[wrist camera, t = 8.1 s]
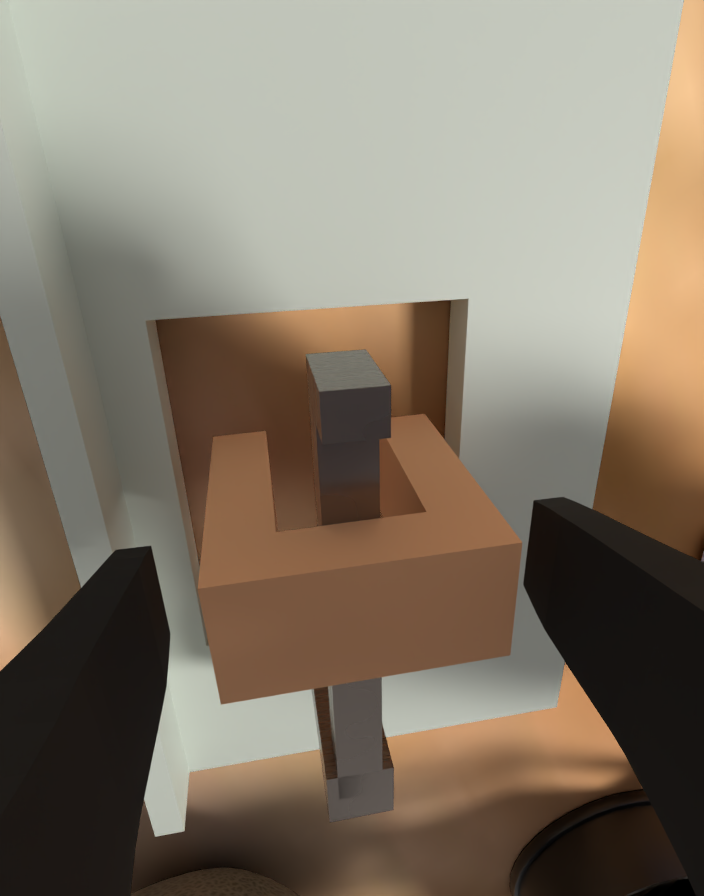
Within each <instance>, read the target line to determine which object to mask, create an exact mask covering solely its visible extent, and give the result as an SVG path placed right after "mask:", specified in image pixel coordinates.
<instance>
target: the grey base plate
mask: <svg viewBox="0 0 704 896" xmlns="http://www.w3.org/2000/svg"><path fill="white" fill-rule="evenodd" d="M683 2H684V0H0V317H1V320H2V323H3V327H4V330H5V333H6V337H7V340H8V343H9V347H10V350H11V354H12V357H13V360H14V364H15V367H16V370H17V374H18V377H19V380H20V384H21V387H22V391H23V394H24V397H25V401H26V404H27V407H28V411H29V414H30V417H31V421H32V424H33V428H34V431H35V434H36V438H37V441H38V444H39V448H40V451H41V454H42V458H43V461H44V465H45V468H46V471H47V475H48V478H49V481H50V485H51V488H52V491H53V495H54V498H55V501H56V505H57V508H58V512H59V515H60V518H61V522H62V525H63V528H64V532H65V535H66V538H67V542H68V545H69V549H70V552H71V555H72V559H73V562H74V565H75V569H76V572H77V575H78V579H79V582H80V586H81V588H82V586H83V585H84V584H85V583H86V582H87V581H88V580H89V579H90V577H91V576H92V575H93V574H94V573H95V572H96V571H97V570H98V568H99V567H100V566H101V565H102V564H103V563H104V562H105V561H106V560H107V559H108V557H109V556H110V555H111V554H112V553H113V552H114V551H115V550H118V549H127V548H135V547H143V546H151V547H152V552H153V556H154V561H155V565H156V570H157V574H158V579H159V583H160V588H161V592H162V597H163V602H164V606H165V611H166V615H167V620H168V624H169V629H170V633H171V635H170V650H169V664H168V676H167V687H166V692H165V698H164V703H163V708H162V713H161V718H160V723H159V728H158V733H157V738H156V743H155V748H154V752H153V757H152V762H151V767H150V772H149V777H148V782H147V787H146V791H145V796H144V801H145V804H146V808H147V811H148V814H149V818H150V821H151V824H152V828H153V831H154V834H155V837H157V836H162V835H168V834H173V833H178V832H183V831H185V819H186V807H187V795H188V784H189V772H194V771H199V770H205V769H211V768H216V767H222V766H227V765H233V764H239V763H244V762H250V761H256V760H261V759H267V758H273V757H278V756H284V755H290V754H295V753H301V752H307V751H312V750H318V749H320V748H319V741H318V734H317V726H316V719H315V712H314V704H313V697H312V690H311V689H310V690H304V691H298V692H292V693H286V694H281V695H275V696H269V697H263V698H257V699H251V700H245V701H240V702H234V703H228V704H222V705H221V703H220V698H219V693H218V688H217V683H216V678H215V673H214V668H213V663H212V658H211V653H210V648H209V643H208V638H207V633H206V628H205V623H204V618H203V613H202V608H201V603H200V598H199V594H198V580H199V570H200V566H199V561H198V555H197V550H196V544H195V539H194V533H193V527H192V522H191V516H190V511H189V505H188V500H187V494H186V489H185V483H184V477H183V472H182V466H181V461H180V455H179V450H178V444H177V439H176V433H175V427H174V422H173V416H172V411H171V405H170V400H169V394H168V389H167V383H166V377H165V372H164V366H163V361H162V355H161V350H160V344H159V339H158V333H157V327H156V322H155V320H161V319H175V318H190V317H205V316H220V315H234V314H249V313H264V312H279V311H293V310H308V309H323V308H338V307H352V306H367V305H382V304H397V303H411V302H426V301H441V300H451V307H450V329H449V351H448V373H447V396H446V418H445V441H446V442H447V444H448V445H449V446H450V448H451V449H452V450H453V452H454V453H455V454H456V456H457V457H458V458H459V459H460V461H461V462H462V463H463V465H464V466H465V467H466V469H467V470H468V471H469V473H470V474H471V475H472V477H473V478H474V479H475V481H476V482H477V483H478V484H479V486H480V487H481V488H482V490H483V491H484V492H485V494H486V495H487V496H488V498H489V499H490V500H491V502H492V503H493V504H494V506H495V507H496V508H497V510H498V511H499V512H500V513H501V515H502V516H503V517H504V519H505V520H506V521H507V523H508V524H509V525H510V527H511V528H512V529H513V531H514V532H515V533H516V535H517V536H518V537H519V539H520V540H521V541H522V551H521V561H520V570H519V579H518V589H517V598H516V607H515V616H514V626H513V635H512V644H511V654H510V655H509V656H503V657H497V658H491V659H486V660H480V661H474V662H468V663H462V664H456V665H450V666H445V667H439V668H433V669H427V670H421V671H415V672H409V673H404V674H398V675H392V676H386V677H382V724H383V728H384V732H385V736H386V737H391V736H397V735H403V734H408V733H414V732H419V731H425V730H431V729H436V728H442V727H448V726H453V725H459V724H465V723H470V722H476V721H482V720H487V719H493V718H498V717H504V716H510V715H515V714H521V713H527V712H532V711H538V710H544V709H549V708H555V707H557V703H558V697H559V691H560V686H561V680H562V675H563V669H564V664H565V661H564V659H563V658H562V656H561V655H560V653H559V652H558V650H557V648H556V647H555V645H554V644H553V642H552V641H551V639H550V638H549V636H548V634H547V633H546V631H545V630H544V628H543V626H542V624H541V622H540V620H539V618H538V616H537V614H536V612H535V610H534V607H533V605H532V603H531V601H530V599H529V596H528V594H527V592H526V590H525V588H524V585H523V581H524V573H525V565H526V557H527V549H528V541H529V533H530V525H531V517H532V509H533V501H534V500H540V499H548V498H557V497H565V498H568V499H570V500H573V501H575V502H577V503H580V504H582V505H584V506H586V507H589V508H591V509H592V508H593V502H594V497H595V491H596V486H597V480H598V475H599V469H600V464H601V458H602V452H603V447H604V441H605V436H606V430H607V425H608V419H609V414H610V408H611V402H612V397H613V391H614V386H615V380H616V375H617V369H618V363H619V358H620V352H621V347H622V341H623V336H624V330H625V325H626V319H627V313H628V308H629V302H630V297H631V291H632V286H633V280H634V275H635V269H636V263H637V258H638V252H639V247H640V241H641V236H642V230H643V224H644V219H645V213H646V208H647V202H648V197H649V191H650V186H651V180H652V174H653V169H654V163H655V158H656V152H657V147H658V141H659V136H660V130H661V124H662V119H663V113H664V108H665V102H666V97H667V91H668V85H669V80H670V74H671V69H672V63H673V58H674V52H675V47H676V41H677V35H678V30H679V24H680V19H681V13H682V8H683Z"/></svg>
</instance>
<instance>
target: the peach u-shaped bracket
mask: <svg viewBox="0 0 704 896" xmlns="http://www.w3.org/2000/svg"><path fill="white" fill-rule="evenodd" d="M379 451H380V511H381V514H382V516H383V518H377V519H370V520H362V521H355V522H347V523H340V524H332V525H324V526H317V527H309V528H302V529H294V530H286V531H279V532H278V531H277V521H276V512H275V504H274V495H273V487H272V478H271V470H270V461H269V453H268V444H267V436H266V431H260V432H251V433H241V434H232V435H223V436H214V437H213V443H212V453H211V462H210V472H209V482H208V492H207V501H206V511H205V521H204V531H203V540H202V550H201V560H200V570H199V580H198V594H199V598H200V603H201V608H202V613H203V618H204V623H205V628H206V633H207V638H208V643H209V648H210V653H211V658H212V663H213V668H214V673H215V678H216V683H217V688H218V693H219V698H220V703H221V705H222V704H228V703H234V702H240V701H245V700H251V699H257V698H263V697H269V696H275V695H281V694H286V693H292V692H298V691H304V690H310V689H316V688H322V687H327V686H333V685H339V684H345V683H351V682H357V681H363V680H368V679H374V678H380V677H386V676H392V675H398V674H404V673H409V672H415V671H421V670H427V669H433V668H439V667H445V666H450V665H456V664H462V663H468V662H474V661H480V660H486V659H491V658H497V657H503V656H509V655H510V654H511V644H512V635H513V626H514V616H515V607H516V598H517V589H518V579H519V570H520V561H521V551H522V541H521V540H520V539H519V537H518V536H517V535H516V533H515V532H514V531H513V529H512V528H511V527H510V525H509V524H508V523H507V521H506V520H505V519H504V517H503V516H502V515H501V513H500V512H499V511H498V510H497V508H496V507H495V506H494V504H493V503H492V502H491V500H490V499H489V498H488V496H487V495H486V494H485V492H484V491H483V490H482V488H481V487H480V486H479V484H478V483H477V482H476V481H475V479H474V478H473V477H472V475H471V474H470V473H469V471H468V470H467V469H466V467H465V466H464V465H463V463H462V462H461V461H460V459H459V458H458V457H457V456H456V454H455V453H454V452H453V450H452V449H451V448H450V446H449V445H448V444H447V442H446V441H445V440H444V438H443V437H442V436H441V434H440V433H439V432H438V430H437V429H436V428H435V427H434V425H433V424H432V423H431V421H430V420H429V419H428V417H427V416H426V415H425V414H418V415H408V416H399V417H391V438H385V439H379Z"/></svg>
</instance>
